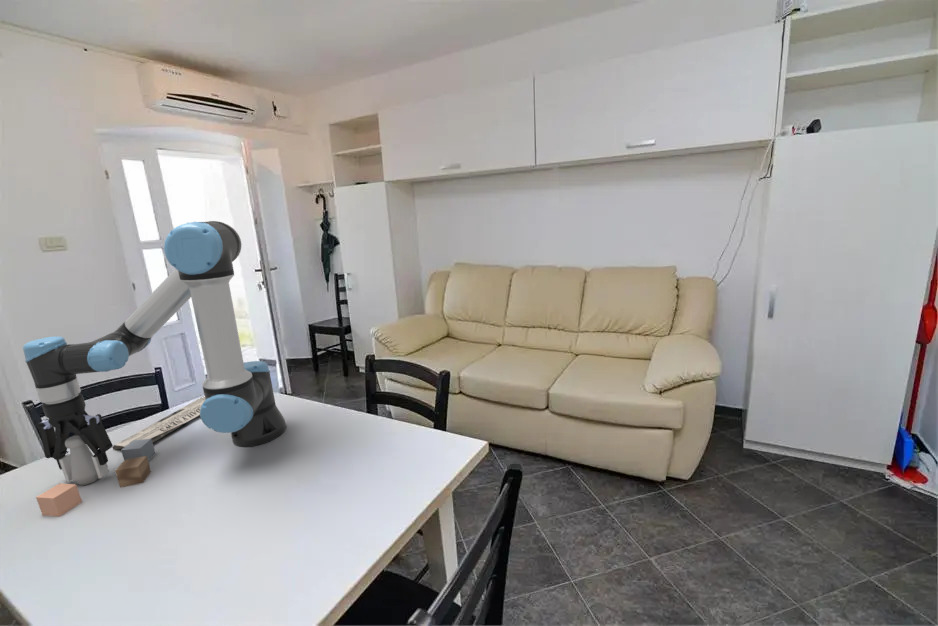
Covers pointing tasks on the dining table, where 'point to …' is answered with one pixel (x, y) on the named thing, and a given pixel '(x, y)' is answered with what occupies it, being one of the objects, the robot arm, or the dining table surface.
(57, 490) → the terracotta cube
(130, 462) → the walnut cube
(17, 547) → the dining table surface
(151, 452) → the slate cube
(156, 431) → the newspaper
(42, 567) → the dining table surface
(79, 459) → the salt shaker
